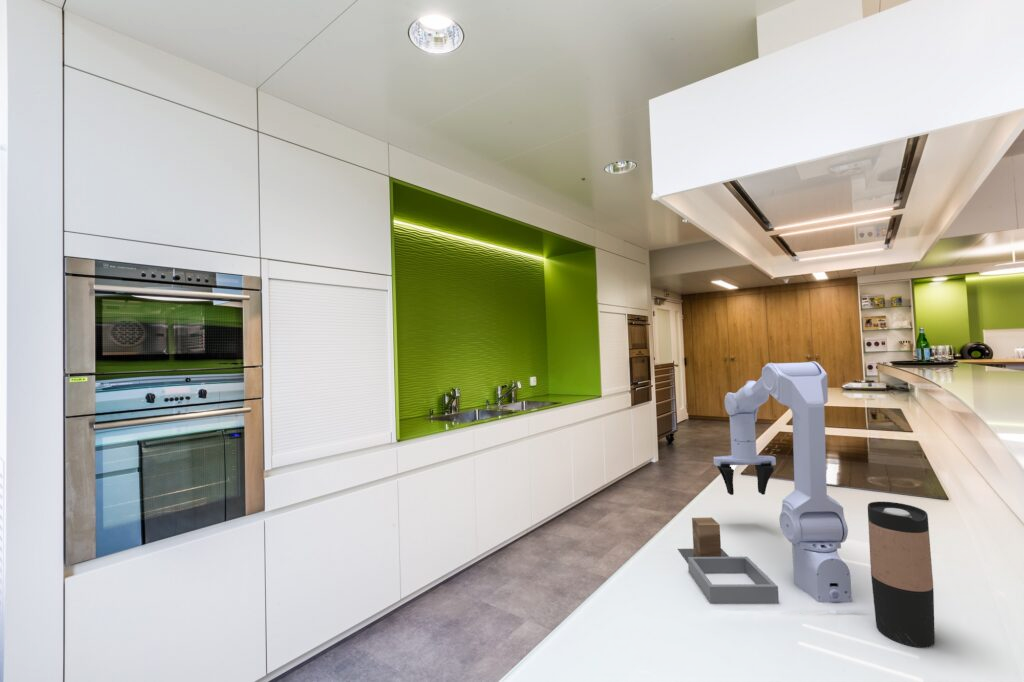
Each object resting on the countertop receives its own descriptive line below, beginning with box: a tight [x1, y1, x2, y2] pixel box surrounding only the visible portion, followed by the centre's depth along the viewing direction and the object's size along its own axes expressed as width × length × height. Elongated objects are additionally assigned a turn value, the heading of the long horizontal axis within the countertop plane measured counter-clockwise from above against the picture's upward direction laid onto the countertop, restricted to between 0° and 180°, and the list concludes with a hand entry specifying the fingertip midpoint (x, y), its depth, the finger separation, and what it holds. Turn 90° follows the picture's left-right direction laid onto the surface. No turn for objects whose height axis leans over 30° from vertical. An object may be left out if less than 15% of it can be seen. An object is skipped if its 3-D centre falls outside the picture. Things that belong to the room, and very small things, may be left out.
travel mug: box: [867, 501, 936, 649], centre depth 73 cm, size 8×8×20 cm
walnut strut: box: [691, 517, 722, 557], centre depth 99 cm, size 4×4×8 cm
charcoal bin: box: [687, 556, 780, 605], centre depth 87 cm, size 12×12×4 cm
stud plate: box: [677, 547, 730, 564], centre depth 99 cm, size 10×10×5 cm
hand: (746, 493), depth 114 cm, fingers open, 7 cm apart
